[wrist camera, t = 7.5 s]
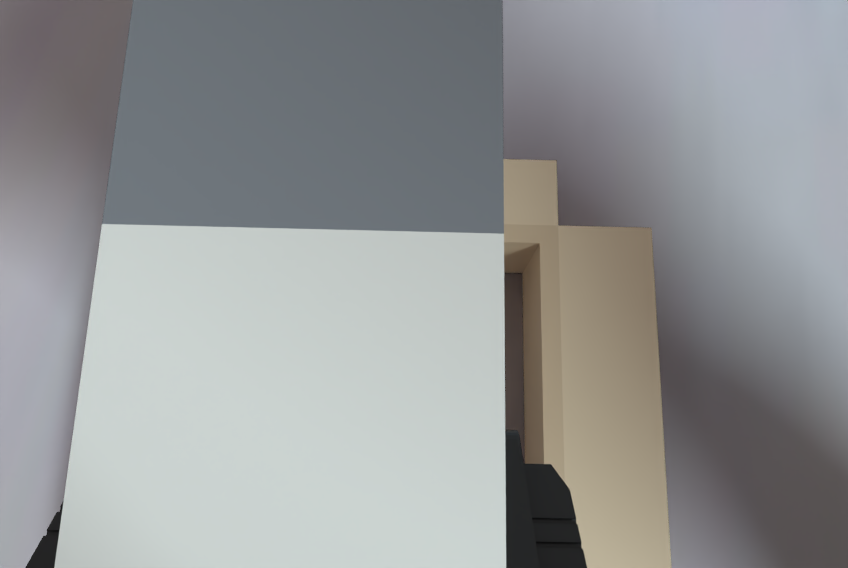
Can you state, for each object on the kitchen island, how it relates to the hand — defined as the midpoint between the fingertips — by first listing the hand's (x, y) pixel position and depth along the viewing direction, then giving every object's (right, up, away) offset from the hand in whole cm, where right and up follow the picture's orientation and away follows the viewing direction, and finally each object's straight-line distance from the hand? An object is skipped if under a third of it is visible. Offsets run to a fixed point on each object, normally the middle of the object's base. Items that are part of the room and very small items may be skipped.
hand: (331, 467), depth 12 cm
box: (0, -1, +8) cm, 8 cm away
